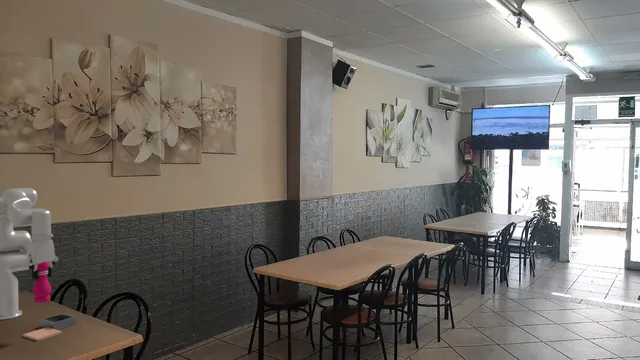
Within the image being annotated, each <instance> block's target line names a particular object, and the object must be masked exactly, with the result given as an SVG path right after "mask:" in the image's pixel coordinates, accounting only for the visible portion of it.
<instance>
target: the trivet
mask: <svg viewBox="0 0 640 360" xmlns="http://www.w3.org/2000/svg"><path fill="white" fill-rule="evenodd" d="M61 334H63V331H62V330H60V329H58V330H56V329H52V328H49V327H46V328H44V327H42V328H41V329H38V330H37V329H36V330H33V331H29V332H26V333H24V334H23V338H27V339H29V340H33V341H36V342H39V341H43V340H45V339H50V338H52V337H55V336H58V335H61Z"/></svg>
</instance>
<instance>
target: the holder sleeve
mask: <svg viewBox="0 0 640 360" xmlns="http://www.w3.org/2000/svg"><path fill="white" fill-rule="evenodd" d="M76 317H77V316H74V315H70V314H66V313H59V314H55V315H52V316H49V317H44V318H41V319H40V327H41V328H46V327H49V328H52V329H56V330H62V329H64V328H68V327H70V326H74V325H76V324H77V322H76V321H77V318H76Z"/></svg>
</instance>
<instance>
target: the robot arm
mask: <svg viewBox="0 0 640 360" xmlns="http://www.w3.org/2000/svg"><path fill="white" fill-rule="evenodd" d="M1 195H2V196H1V197H0V252H6V253H2V254H0V321H2V320H10V319H14V318H17V317H20V316H22V315H23V311H22V310H20V309H19V279H18V278H17V277H16V275H14V274H13V273H15V272H20V271H26V270H30V271H31V277H32V280H35V281H36V280H38V271H37V267H38V264H40V263H42V262H49V265H50V266H49V268H48V269H47V270H48V274H47V278H48V277H49V278H51V277H52V273H53V268H54V265H55V264H56V263H57V262H58V261H59V257H58V256H57V255H56V254H55V245H54V241H53V239H52V237H54V233H52V214H51V211H50V210H47V209H45V208H33V207H34V206H35V205H36V204H37V201H38V194H37V191H36V190H35V189H34V188H32V187H19V188H18V187H16V188H15V187H14V188H9V189H6V190H5V191H3V193H2V194H1ZM14 226H16V227H28V226H31V234H30V233H29V231H28V230H14ZM16 250H19V251H18V252H17V251H16ZM8 251H9V253H7V252H8ZM10 251H16V252H10Z"/></svg>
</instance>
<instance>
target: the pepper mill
mask: <svg viewBox="0 0 640 360" xmlns="http://www.w3.org/2000/svg"><path fill="white" fill-rule="evenodd" d="M49 266H50V265H49V262H42V263H40V264H38V267H37V271H38V280H35V283H34V286H33V288H32V295H33V296H34V297H33V302H34V303H37V304H38V303H47V302H49V301H50V300H51V295H50V294H51V292H52V287H51V284H50V282H49V280H48V277H47V274H48V270H47V269H48V268H49Z"/></svg>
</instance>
